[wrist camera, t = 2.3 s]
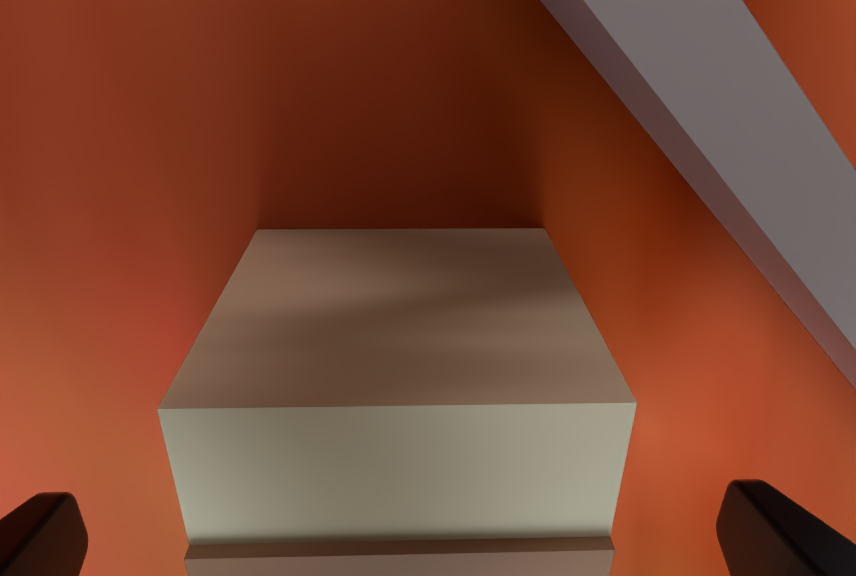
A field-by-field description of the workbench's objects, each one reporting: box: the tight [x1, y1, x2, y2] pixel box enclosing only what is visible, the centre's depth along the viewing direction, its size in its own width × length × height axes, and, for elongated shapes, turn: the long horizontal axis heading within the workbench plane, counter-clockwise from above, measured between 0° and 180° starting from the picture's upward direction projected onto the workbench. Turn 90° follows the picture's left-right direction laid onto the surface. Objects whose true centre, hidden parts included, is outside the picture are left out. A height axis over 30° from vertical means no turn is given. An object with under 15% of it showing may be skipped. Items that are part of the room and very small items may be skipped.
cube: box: [157, 228, 637, 576], centre depth 10 cm, size 5×5×5 cm
